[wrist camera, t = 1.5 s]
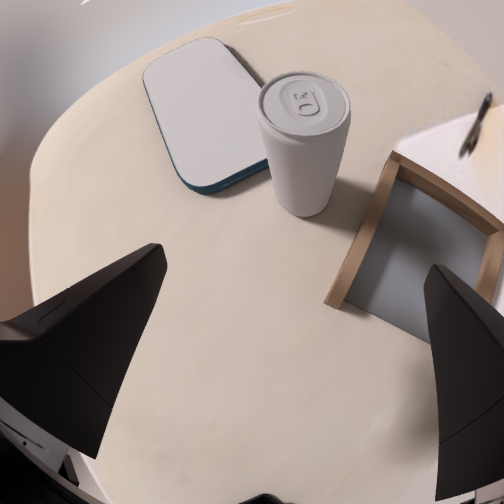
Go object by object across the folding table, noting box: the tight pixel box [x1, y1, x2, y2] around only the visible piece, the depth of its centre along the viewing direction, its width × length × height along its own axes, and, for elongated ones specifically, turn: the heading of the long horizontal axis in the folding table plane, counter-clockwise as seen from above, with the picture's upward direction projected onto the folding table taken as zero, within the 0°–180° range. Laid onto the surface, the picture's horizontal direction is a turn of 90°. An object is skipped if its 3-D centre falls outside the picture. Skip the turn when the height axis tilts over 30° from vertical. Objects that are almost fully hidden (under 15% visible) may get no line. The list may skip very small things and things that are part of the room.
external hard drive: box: [143, 37, 269, 194], centre depth 26 cm, size 24×12×2 cm, turn 25°
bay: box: [323, 150, 504, 345], centre depth 19 cm, size 14×14×2 cm
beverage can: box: [257, 71, 351, 217], centre depth 17 cm, size 5×5×12 cm
